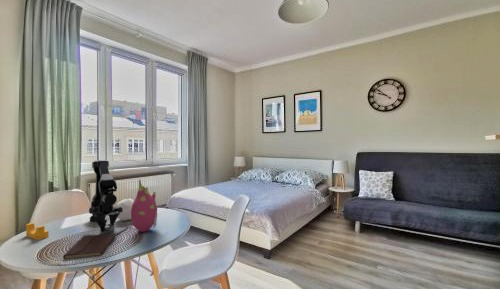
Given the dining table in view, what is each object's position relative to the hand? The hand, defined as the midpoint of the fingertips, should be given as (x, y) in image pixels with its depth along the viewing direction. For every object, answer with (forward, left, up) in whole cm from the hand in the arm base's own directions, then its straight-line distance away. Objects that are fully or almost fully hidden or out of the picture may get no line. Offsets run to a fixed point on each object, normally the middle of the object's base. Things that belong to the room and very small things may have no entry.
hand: (107, 229), depth 130 cm
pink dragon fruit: (-5, +19, -2) cm, 20 cm away
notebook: (+17, +5, -2) cm, 18 cm away
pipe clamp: (+8, -34, -3) cm, 35 cm away
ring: (0, 0, -1) cm, 1 cm away
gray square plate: (0, 0, -2) cm, 2 cm away
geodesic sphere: (-22, -3, -2) cm, 22 cm away
